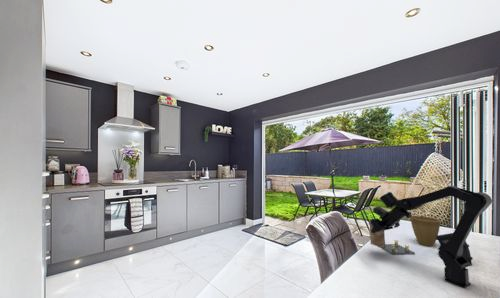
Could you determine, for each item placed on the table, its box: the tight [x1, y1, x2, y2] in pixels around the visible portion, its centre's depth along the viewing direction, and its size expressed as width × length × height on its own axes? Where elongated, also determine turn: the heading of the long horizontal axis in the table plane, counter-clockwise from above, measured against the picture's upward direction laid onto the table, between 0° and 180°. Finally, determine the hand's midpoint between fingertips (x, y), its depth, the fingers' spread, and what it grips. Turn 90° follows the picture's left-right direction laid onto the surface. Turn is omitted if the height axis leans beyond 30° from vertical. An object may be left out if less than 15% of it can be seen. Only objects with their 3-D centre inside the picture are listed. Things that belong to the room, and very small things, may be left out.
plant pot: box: [409, 215, 441, 247], centre depth 136 cm, size 15×15×16 cm
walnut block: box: [369, 219, 386, 248], centre depth 119 cm, size 5×5×13 cm
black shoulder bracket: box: [436, 232, 473, 267], centre depth 112 cm, size 4×13×15 cm, turn 27°
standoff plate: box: [379, 239, 416, 256], centre depth 125 cm, size 13×13×4 cm
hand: (374, 231), depth 121 cm, fingers closed on walnut block, 5 cm apart
